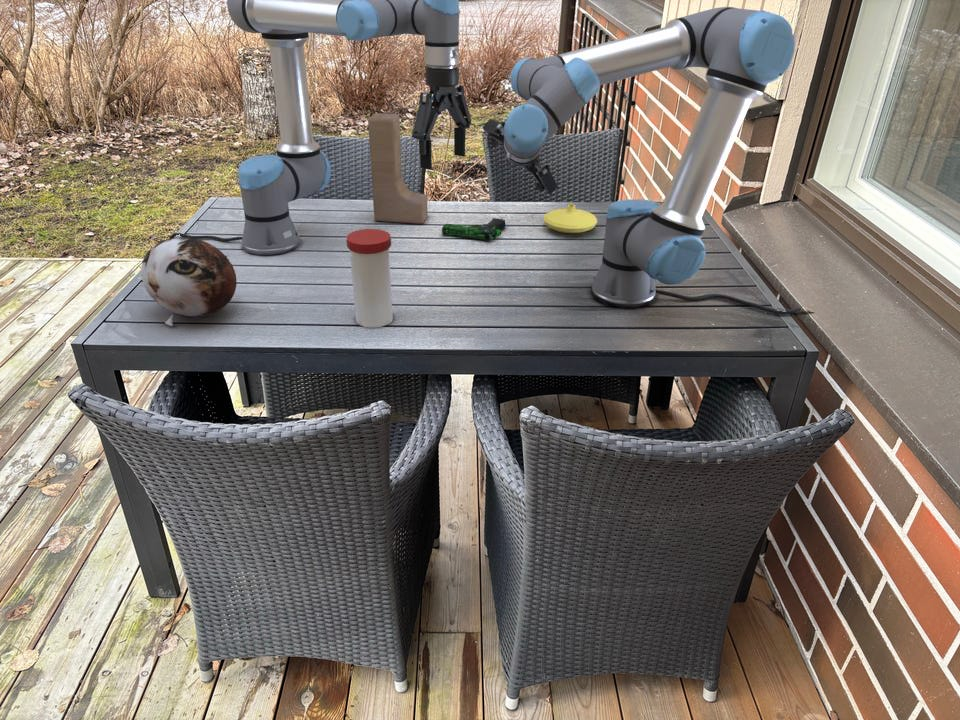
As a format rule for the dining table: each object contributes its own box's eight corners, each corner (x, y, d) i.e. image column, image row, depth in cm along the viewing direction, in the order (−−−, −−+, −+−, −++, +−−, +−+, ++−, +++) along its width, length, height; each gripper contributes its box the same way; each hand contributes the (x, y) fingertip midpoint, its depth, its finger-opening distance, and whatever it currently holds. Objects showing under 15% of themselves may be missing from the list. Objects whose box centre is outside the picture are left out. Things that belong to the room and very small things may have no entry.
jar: (355, 328, 156) (348, 246, 146) (355, 311, 163) (349, 232, 154) (393, 326, 157) (389, 245, 147) (392, 309, 164) (388, 230, 155)
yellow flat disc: (559, 216, 220) (561, 193, 217) (605, 227, 212) (608, 204, 209) (532, 230, 209) (533, 207, 206) (580, 242, 201) (582, 218, 198)
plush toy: (103, 301, 154) (138, 216, 155) (170, 324, 169) (201, 246, 171) (169, 326, 143) (206, 234, 145) (233, 348, 159) (266, 265, 160)
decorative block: (423, 224, 212) (420, 120, 197) (373, 221, 214) (367, 118, 199) (428, 216, 219) (425, 114, 203) (380, 213, 220) (374, 112, 205)
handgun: (511, 219, 210) (493, 234, 198) (511, 228, 211) (492, 244, 199) (461, 212, 215) (440, 226, 203) (461, 221, 217) (440, 236, 204)
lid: (346, 254, 147) (345, 245, 146) (347, 238, 155) (346, 229, 154) (391, 253, 148) (391, 243, 147) (390, 237, 156) (390, 227, 155)
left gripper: (421, 75, 148) (424, 176, 159) (486, 61, 166) (485, 153, 177) (393, 71, 151) (397, 171, 162) (460, 58, 169) (460, 148, 180)
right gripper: (463, 112, 138) (467, 136, 159) (554, 203, 140) (546, 215, 161) (490, 83, 138) (490, 111, 159) (582, 175, 139) (570, 190, 160)
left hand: (443, 161), depth 169 cm, fingers open, 13 cm apart
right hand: (519, 163), depth 160 cm, fingers open, 13 cm apart
